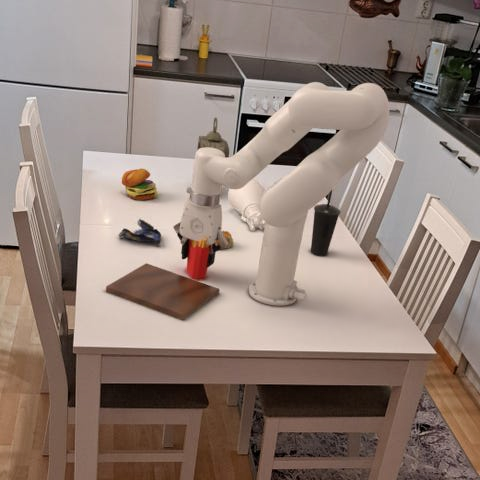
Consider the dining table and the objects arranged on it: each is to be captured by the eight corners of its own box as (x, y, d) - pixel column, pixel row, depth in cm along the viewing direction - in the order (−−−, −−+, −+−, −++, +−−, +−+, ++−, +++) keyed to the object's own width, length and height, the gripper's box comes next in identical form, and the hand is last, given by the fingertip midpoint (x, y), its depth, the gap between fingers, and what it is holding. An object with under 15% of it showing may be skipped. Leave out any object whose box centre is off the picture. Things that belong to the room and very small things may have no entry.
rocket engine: (266, 204, 239) (252, 172, 252) (233, 224, 241) (221, 191, 254) (284, 229, 246) (269, 196, 259) (252, 248, 249) (238, 215, 261)
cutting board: (218, 294, 204) (219, 288, 204) (183, 320, 189) (183, 314, 189) (145, 268, 212) (146, 263, 211) (105, 291, 197) (106, 286, 196)
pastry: (209, 252, 226) (210, 240, 224) (194, 243, 231) (196, 231, 229) (234, 247, 232) (236, 235, 230) (220, 238, 236) (222, 226, 235)
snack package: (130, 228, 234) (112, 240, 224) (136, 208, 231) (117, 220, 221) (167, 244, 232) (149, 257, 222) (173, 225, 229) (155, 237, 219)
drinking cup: (336, 254, 237) (350, 190, 228) (321, 260, 232) (334, 194, 223) (316, 245, 242) (328, 182, 232) (300, 250, 236) (312, 186, 227)
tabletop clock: (193, 183, 276) (201, 111, 265) (219, 185, 278) (228, 113, 267) (196, 198, 264) (205, 123, 252) (223, 200, 265) (233, 125, 254)
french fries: (183, 267, 215) (188, 222, 209) (198, 266, 217) (203, 221, 211) (194, 282, 208) (200, 236, 202) (210, 281, 210) (216, 236, 204)
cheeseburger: (156, 203, 254) (151, 173, 250) (123, 206, 255) (117, 176, 250) (159, 191, 263) (154, 162, 259) (127, 195, 264) (121, 166, 259)
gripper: (168, 191, 203) (161, 256, 211) (228, 210, 197) (219, 276, 205) (183, 184, 209) (176, 247, 217) (242, 203, 203) (232, 267, 211)
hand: (197, 261), depth 211 cm, fingers closed on french fries, 6 cm apart
